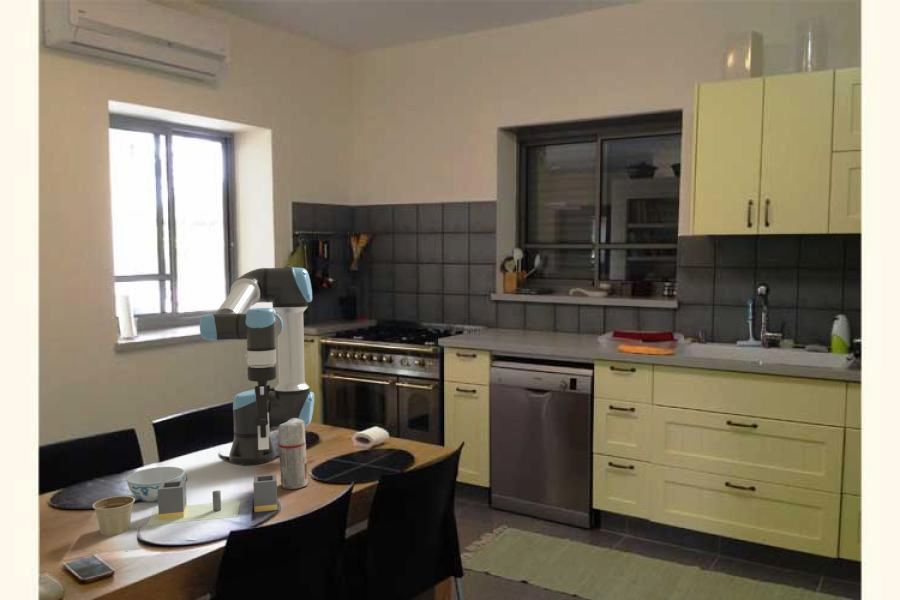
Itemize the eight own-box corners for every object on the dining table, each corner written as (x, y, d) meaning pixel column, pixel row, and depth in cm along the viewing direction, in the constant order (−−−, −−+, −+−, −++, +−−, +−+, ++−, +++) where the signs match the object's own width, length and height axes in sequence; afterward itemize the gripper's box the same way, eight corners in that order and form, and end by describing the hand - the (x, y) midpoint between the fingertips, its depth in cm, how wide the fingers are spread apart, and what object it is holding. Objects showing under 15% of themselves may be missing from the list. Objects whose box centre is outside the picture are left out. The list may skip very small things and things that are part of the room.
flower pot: (103, 529, 176) (102, 496, 175) (141, 527, 177) (140, 494, 176) (87, 544, 167) (85, 509, 166) (128, 543, 168) (126, 508, 167)
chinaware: (129, 515, 185) (127, 487, 185) (126, 498, 199) (125, 471, 198) (188, 505, 192) (187, 478, 192) (182, 489, 206) (181, 463, 205)
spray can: (301, 491, 203) (299, 423, 201) (275, 489, 204) (273, 422, 203) (312, 481, 211) (311, 416, 210) (287, 480, 213) (285, 416, 211)
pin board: (154, 513, 186) (153, 490, 186) (240, 505, 191) (239, 482, 191) (146, 531, 174) (145, 506, 174) (237, 521, 180) (236, 497, 179)
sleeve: (255, 504, 192) (254, 476, 192) (277, 502, 194) (276, 474, 193) (254, 512, 187) (253, 483, 186) (277, 509, 188) (276, 480, 187)
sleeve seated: (162, 511, 184) (161, 482, 183) (186, 509, 185) (185, 479, 185) (158, 519, 178) (157, 489, 177) (183, 517, 179) (182, 487, 179)
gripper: (249, 359, 199) (251, 432, 200) (245, 373, 174) (248, 456, 176) (276, 358, 200) (278, 430, 202) (276, 371, 176) (278, 453, 178)
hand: (264, 442), depth 189 cm, fingers open, 13 cm apart
